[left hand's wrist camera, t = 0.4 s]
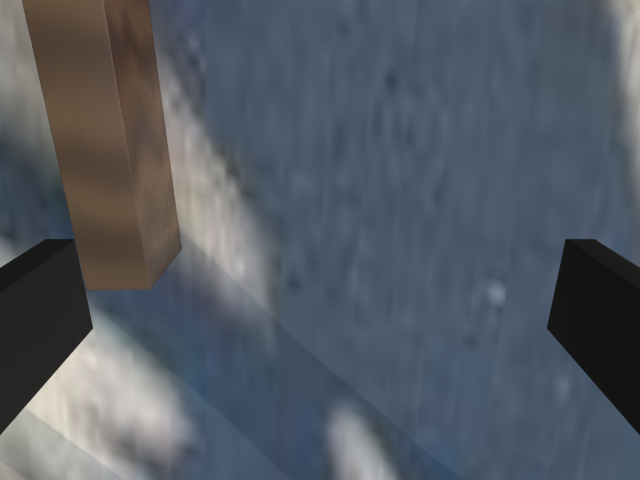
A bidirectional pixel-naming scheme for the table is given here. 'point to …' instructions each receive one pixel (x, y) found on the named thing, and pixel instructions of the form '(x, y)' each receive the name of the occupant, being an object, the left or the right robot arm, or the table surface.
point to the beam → (108, 136)
